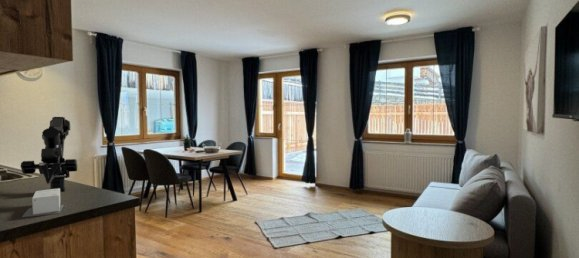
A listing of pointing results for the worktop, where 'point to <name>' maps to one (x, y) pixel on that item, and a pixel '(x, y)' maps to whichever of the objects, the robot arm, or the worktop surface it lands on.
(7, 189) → the worktop surface
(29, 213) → the grey square plate
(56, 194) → the small box
